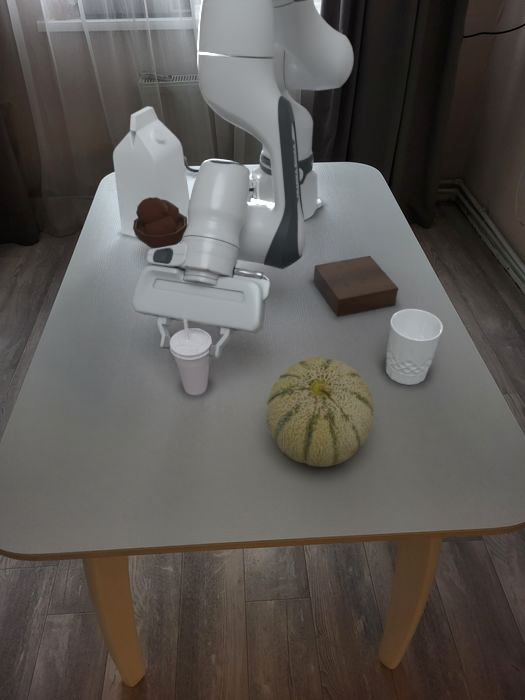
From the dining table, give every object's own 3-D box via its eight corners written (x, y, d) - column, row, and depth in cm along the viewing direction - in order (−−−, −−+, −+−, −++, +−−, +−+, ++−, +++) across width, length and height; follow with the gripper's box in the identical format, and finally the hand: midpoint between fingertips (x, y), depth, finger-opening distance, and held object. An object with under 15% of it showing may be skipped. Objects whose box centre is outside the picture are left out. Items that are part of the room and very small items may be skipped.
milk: (151, 211, 135) (135, 98, 118) (192, 220, 131) (182, 106, 114) (122, 233, 127) (100, 116, 110) (165, 244, 123) (149, 124, 106)
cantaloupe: (339, 398, 88) (349, 323, 78) (386, 469, 77) (404, 394, 67) (251, 422, 84) (249, 347, 74) (287, 501, 73) (291, 426, 63)
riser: (313, 282, 112) (314, 265, 109) (367, 272, 115) (369, 255, 112) (337, 317, 103) (339, 299, 101) (395, 305, 106) (398, 288, 103)
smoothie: (191, 368, 93) (183, 300, 84) (223, 381, 90) (218, 313, 81) (167, 392, 89) (156, 323, 79) (200, 407, 86) (193, 337, 77)
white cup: (372, 362, 94) (381, 315, 87) (412, 350, 96) (423, 304, 89) (398, 393, 88) (409, 345, 82) (439, 380, 90) (453, 332, 84)
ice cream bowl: (183, 280, 112) (175, 212, 103) (131, 274, 114) (119, 206, 104) (198, 253, 120) (192, 187, 110) (149, 247, 122) (139, 182, 112)
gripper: (276, 278, 86) (260, 366, 85) (153, 259, 90) (136, 343, 89) (269, 268, 79) (251, 363, 79) (137, 249, 83) (119, 339, 83)
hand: (189, 352), depth 84 cm, fingers closed on smoothie, 6 cm apart
